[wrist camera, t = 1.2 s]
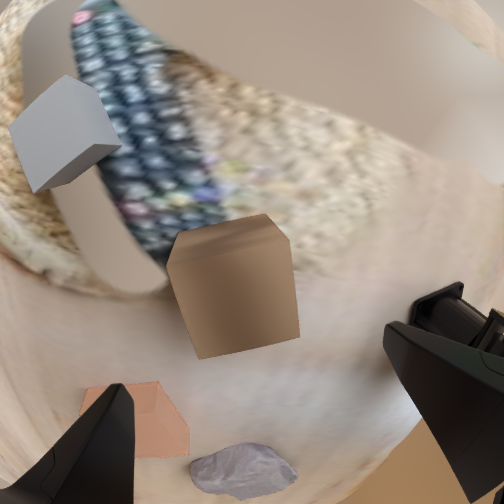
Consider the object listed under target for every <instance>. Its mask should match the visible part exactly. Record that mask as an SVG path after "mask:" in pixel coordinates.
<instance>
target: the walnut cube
mask: <svg viewBox="0 0 504 504" xmlns="http://www.w3.org/2000/svg"><path fill="white" fill-rule="evenodd" d="M166 268H167V272H168V275H169V278H170V281H171V284H172V287H173V290H174V293H175V296H176V299H177V302H178V305H179V308H180V311H181V314H182V316H183V319H184V322H185V325H186V327H187V330H188V333H189V336H190V338H191V341H192V343H193V346H194V349H195V351H196V354H197V356H198V359H204V358H210V357H215V356H221V355H226V354H231V353H236V352H240V351H245V350H250V349H254V348H259V347H263V346H267V345H271V344H276V343H280V342H284V341H288V340H291V339H295V338H299V337H300V330H299V320H298V310H297V301H296V292H295V283H294V274H293V266H292V258H291V250H290V242H289V239H288V238H287V237H286V236H285V235H284V234H283V232H282V231H281V230H280V229H279V228H278V227H277V226H276V225H275V224H274V222H273V221H272V220H271V219H270V218H269V217H268V216H267V215H266V214H261V215H256V216H251V217H246V218H241V219H237V220H232V221H227V222H222V223H218V224H213V225H209V226H204V227H200V228H195V229H191V230H186V231H182V232H179V233H178V235H177V238H176V240H175V243H174V246H173V248H172V251H171V254H170V257H169V259H168V262H167V265H166Z"/></svg>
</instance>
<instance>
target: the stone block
mask: <svg viewBox="0 0 504 504" xmlns="http://www.w3.org/2000/svg"><path fill="white" fill-rule="evenodd" d="M190 474H191V477H192V481H193V482H194V485H195V486H196V487H197V488H199V489H201V490H202V491H203V492H206V493H212V494H216V495H218V494H229V495H231V496H234V497H236V498H237V499H238V500H241V501H243V500H246V499H248V498H253V497H259V496H263V495H269V494H272V493H276V492H277V491H281V490H283V489H284V488H286V487H287V486H289V485H290V484H292V483H294V481H295V480H297V479H298V473H297V471H296V470H295V469H293V468H292V467H291V466H290V465H289V464H288V462H286V461H285V460H284V459H283V458H282V457H280V456H279V455H278V454H277V453H275V452H274V451H273V450H272V448H270V447H266V446H262V445H257V444H252V443H243V444H239V445H236V446H232V447H228V448H224V449H223V450H221V451H219V452H216V453H215V454H213V455H210V456H206V457H203V458H201V459H199V460H196V461H193V462H192V463H191V471H190Z"/></svg>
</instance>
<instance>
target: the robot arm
mask: <svg viewBox="0 0 504 504" xmlns="http://www.w3.org/2000/svg"><path fill="white" fill-rule="evenodd" d="M463 288H464V284H463V283H462V282H457V283H455V284H453V285H451V286H448V287H446V288H444V289H442V290H439V291H437V292H435V293H432V294H430V295H428V296H425V297H423V298H421V299H418V300H417V301H416V302H415V304H414V308H413V314H412V320H411V326H410V325H407V324H404V323H402V322H399V321H393V322H390V323H388V324H386V325H385V328H384V336H383V347H384V350H385V351H386V353H387V355H388V357H389V359H390V361H391V363H392V365H393V368H394V370H395V372H396V374H397V376H398V378H399V380H400V381H401V383H402V385H403V386H404V388H405V390H406V391H407V393H408V394H409V396H410V398H411V399H412V401H413V402H414V404H415V406H416V407H417V409H418V410H419V412H420V414H421V415H422V417H423V419H424V420H425V422H426V424H427V425H428V427H429V429H430V430H431V432H432V434H433V436H434V437H435V439H436V441H437V442H438V444H439V446H440V447H441V449H442V451H443V453H444V455H445V456H446V458H447V460H448V462H449V464H450V466H451V468H452V470H453V472H454V473H455V475H456V477H457V479H458V481H459V483H460V485H461V487H462V489H463V491H464V493H465V495H466V497H467V499H468V501H469V502H470V504H472V503H473V502H475V501H476V500H478V499H480V498H481V497H482V496H484V495H486V494H487V493H488V492H490V491H491V490H493V489H494V488H496V487H497V486H498V485H500V484H501V483H502V482H504V335H503V333H504V313H502V312H500V311H498V310H496V309H493V308H492V309H491V311H490V313H489V316H488V318H487V317H486V316H485V315H483V314H482V313H481V312H479V311H478V310H477V309H475V308H474V307H473V306H471V305H470V304H469V303H467V302H466V301H464V300H463V299H462V298H461V297H462V293H463ZM134 459H135V408H134V400H133V398H132V396H131V395H130V393H129V392H128V390H127V389H126V387H125V386H124V385H123V384H122V383H115V384H111V385H110V386H109V387H108V388H107V389H106V390H105V391H104V392H103V393H102V394H101V395H100V396H99V397H98V398H97V399H96V400H95V401H94V403H93V404H92V405H91V406H90V407H89V408H88V409H87V410H86V411H85V412H84V413H83V414H82V415H81V416H80V417H79V419H78V420H77V421H76V422H75V423H74V424H73V425H72V426H71V427H70V428H69V429H68V430H67V431H66V432H65V434H64V435H63V436H62V437H61V438H60V439H59V440H58V441H57V442H56V443H55V444H54V446H53V447H52V448H51V449H50V450H49V451H48V452H47V453H46V454H45V455H44V456H43V457H42V458H41V459H40V460H39V461H38V462H37V463H36V464H35V465H34V466H33V467H32V468H31V469H30V470H28V471H27V472H26V473H25V474H24V475H23V476H22V477H20V478H19V479H18V480H17V481H16V482H15V483H14V484H12V485H11V486H9V487H7V488H5V489H0V504H134ZM493 504H504V486H503V487H502V488H501V489H499V490H498V491H497V492H496V494H495V498H494V501H493Z"/></svg>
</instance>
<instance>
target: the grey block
mask: <svg viewBox="0 0 504 504" xmlns="http://www.w3.org/2000/svg"><path fill="white" fill-rule="evenodd" d="M8 129H9V132H10V135H11V138H12V141H13V144H14V147H15V150H16V152H17V155H18V158H19V160H20V163H21V166H22V168H23V171H24V173H25V175H26V178H27V180H28V182H29V185H30V187H31V189H32V191H33V194H34V193H37V192H40V191H44V190H47V189H50V188H54V187H57V186H60V185H64V184H67V183H70V182H72V181H73V180H74V179H76V178H77V177H78V176H79V175H81V174H82V173H83V172H85V171H86V170H87V169H89V168H90V167H92V166H93V165H94V164H95V163H97V162H98V161H100V160H101V159H103V158H104V157H105V156H107V155H108V154H110V153H111V152H113V151H114V150H116V149H117V148H119V147H120V146H122V144H121V142H120V140H119V138H118V136H117V134H116V132H115V130H114V128H113V125H112V123H111V121H110V119H109V117H108V115H107V113H106V110H105V108H104V106H103V104H102V101H101V99H100V97H99V95H98V92H97V90H96V89H94V88H92V87H90V86H88V85H86V84H84V83H82V82H80V81H78V80H76V79H74V78H72V77H70V76H68V75H64V76H63V77H61V78H60V79H59V80H58V81H56V82H55V83H54V84H53V85H52V86H50V87H49V88H48V89H47V90H46V91H45V92H44V93H42V94H41V95H40V96H39V97H38V98H37V99H36V100H35V101H34V102H33V103H31V104H30V105H29V106H28V107H27V108H26V109H25V110H24V111H23V112H22V113H21V114H20V115H19V116H18V117H17V118H16V119H15V120H14V122H13V123H12V124H11V125H10V126H9V127H8Z"/></svg>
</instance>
